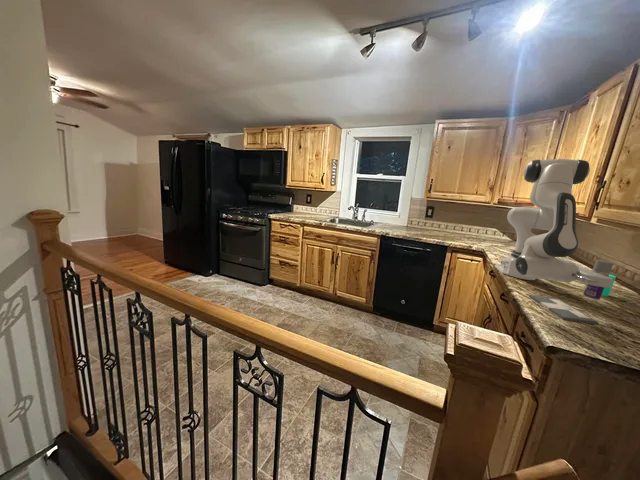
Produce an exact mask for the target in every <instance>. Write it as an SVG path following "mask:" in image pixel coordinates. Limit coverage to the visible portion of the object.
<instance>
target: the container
mask: <svg viewBox="0 0 640 480" xmlns="http://www.w3.org/2000/svg"><path fill="white" fill-rule="evenodd" d="M613 266H614V262H611V261H608V260H603V259H596V260H595V263H594V265H593V268H592V269H591V270H592V271H594V272H596V273H599V274H602V275H605V276H609V274H611V272H612V269H613ZM603 290H604V287H599V286H593V285H589V284H586V286H585V289H584V292H583V296H584V297H586V298H589V299H593V300H597V301H598V300H599V301H600V300H601V297H602V296H601V295H602V292H603Z"/></svg>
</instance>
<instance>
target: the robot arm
mask: <svg viewBox="0 0 640 480" xmlns="http://www.w3.org/2000/svg"><path fill="white" fill-rule="evenodd" d="M590 167H591V166H590V163H589V161H587V160H583V159H568V158H558V159H557V158H555V159H554V158H553V159H552V158H551V159H550V158H549V159H535V160H531V161H529V162H528V163H527V164H526V166H525V167H524V168H523V178H524V179H523V180H525V181H526V182H528V183H531V184H533V185H532V188H531V192H530V196H529V201H530V202H531V204H532V205H534V206H536V207H528V206H515V207H514V206H513V207H512V208H511V209H510V210H509V211H508V212H507V215H506V217H507V222H508V223H509V224H510V225H511V226H512V227H513V229H514V230H515V232H516V241H515V246H514V249H512V250H511V252H510V255H509V256H506V257H504V258H502V260H500V263H499V264H495V265H494V267H495V269H497V270H498V272H500V273H501V274H504V275H507V276H510V277H514V278H518V279H521V280H527V281H535V280H536V279H538V280H550V281H553V282H560V283H567V284H568V283H572V282H573V281H575V280H576V281H578V282H581V283H583V284H585V285H587V284H589V285H593V286H599V287H605V288H609V287H611V285H612V282H613V279H612V277H609V276H605V275H602V274H599V273H596V272H594V271H592V270H593V269H588V268H586V267H584V266H580V265H577V264H576V263H575V262H573V261H572V260H567V259H562V258H566V257H570V256H572V255H573V254H575V252H576V251H577V250H578V247H579V241H578V235H577V231H576V229H577V227H576V225H577V224H576V222H577V201H576V199H575V196H574V195H573V194H572V192H573V185H579V184H581V183H584V181H586V179H587V178H588V176H589V175H590V171H591V168H590ZM532 229H536V230H543V231H548V232H546V233H545V232H544V233H542V234H535V233H533V232H532ZM560 258H561V259H560Z"/></svg>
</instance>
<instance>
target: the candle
mask: <svg viewBox="0 0 640 480" xmlns="http://www.w3.org/2000/svg"><path fill="white" fill-rule="evenodd" d="M609 277H612V279H613V282H612V285H611V287H609V288H605V287H604V290H603V292H602V296H603V297H609V296H610V293H611V291H612V288H613V286H614V283H615V281H616V278H617V276H616V275H613V274H611V273H610V274H609ZM602 296H601V297H602Z"/></svg>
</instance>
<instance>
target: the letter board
mask: <svg viewBox="0 0 640 480" xmlns="http://www.w3.org/2000/svg"><path fill="white" fill-rule="evenodd" d="M528 297H529V299H532V300H533V301H535V302H536V303H538V304H539V305H541V307H544V308H545V309H547V310H548V311H549V312H551V313H553V314H554V315H556V316H557V317H559V319H562V320H563V321H564V320H565V321H571V322H578V321H579V323H585V324H592V325H598V324H599V321H597V320H596V319H594V318H593V317H590V316H589V315H588V314H586V313H584V312H582V311H581V310H578V309H577V308H575V307H574V306H572V305H569V304H568V303H567V302H565V301H562V299H559V298H555V297H549V296H541V295H535V294H528Z"/></svg>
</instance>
